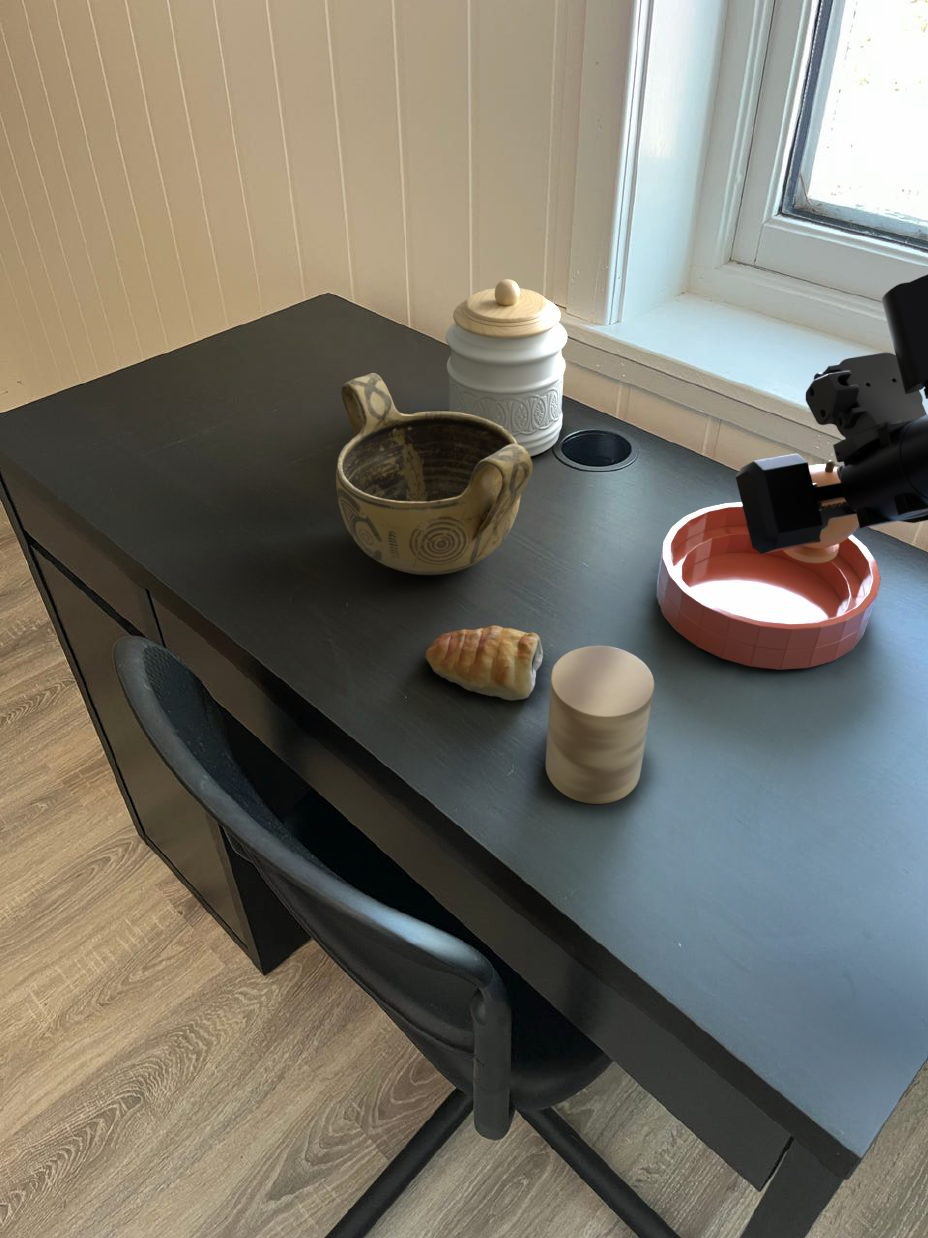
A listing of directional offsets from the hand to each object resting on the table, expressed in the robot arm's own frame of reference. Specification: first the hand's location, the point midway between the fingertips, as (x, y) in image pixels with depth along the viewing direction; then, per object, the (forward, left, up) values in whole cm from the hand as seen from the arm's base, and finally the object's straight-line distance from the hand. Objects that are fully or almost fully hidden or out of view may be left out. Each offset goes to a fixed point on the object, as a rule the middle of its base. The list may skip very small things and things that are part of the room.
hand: (805, 512), depth 74 cm
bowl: (+2, -2, -12) cm, 12 cm away
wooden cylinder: (+9, +22, -12) cm, 26 cm away
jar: (+35, -21, -12) cm, 43 cm away
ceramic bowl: (+32, +3, -12) cm, 34 cm away
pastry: (+20, +16, -12) cm, 28 cm away
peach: (-1, +1, -2) cm, 3 cm away
